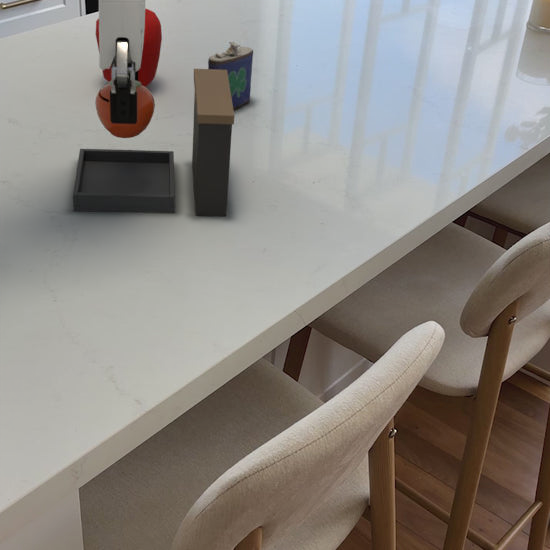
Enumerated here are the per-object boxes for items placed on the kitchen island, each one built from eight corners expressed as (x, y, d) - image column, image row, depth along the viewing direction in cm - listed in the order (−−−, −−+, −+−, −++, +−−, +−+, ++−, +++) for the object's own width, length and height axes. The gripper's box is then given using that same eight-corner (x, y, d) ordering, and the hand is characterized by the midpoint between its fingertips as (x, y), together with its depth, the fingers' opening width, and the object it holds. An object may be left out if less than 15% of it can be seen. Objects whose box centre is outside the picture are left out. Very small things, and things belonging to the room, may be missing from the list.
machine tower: (193, 216, 114) (197, 114, 106) (190, 164, 125) (193, 68, 117) (228, 217, 114) (234, 115, 106) (221, 164, 126) (227, 69, 118)
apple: (94, 74, 149) (92, -7, 141) (155, 73, 151) (156, -7, 144) (100, 100, 140) (98, 15, 133) (165, 98, 143) (166, 15, 135)
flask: (242, 97, 146) (246, 33, 140) (255, 103, 145) (260, 39, 138) (202, 112, 140) (205, 46, 134) (215, 118, 139) (219, 52, 132)
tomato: (89, 122, 115) (87, 63, 110) (144, 116, 118) (144, 59, 113) (104, 148, 110) (103, 87, 105) (162, 141, 112) (163, 81, 108)
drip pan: (73, 211, 112) (72, 194, 111) (80, 164, 123) (80, 148, 121) (174, 212, 114) (174, 196, 113) (173, 166, 124) (173, 151, 123)
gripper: (94, -56, 108) (98, 80, 118) (84, -13, 94) (90, 138, 104) (156, -53, 109) (155, 82, 119) (155, -9, 95) (154, 140, 105)
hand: (124, 107), depth 112 cm, fingers closed on tomato, 7 cm apart
